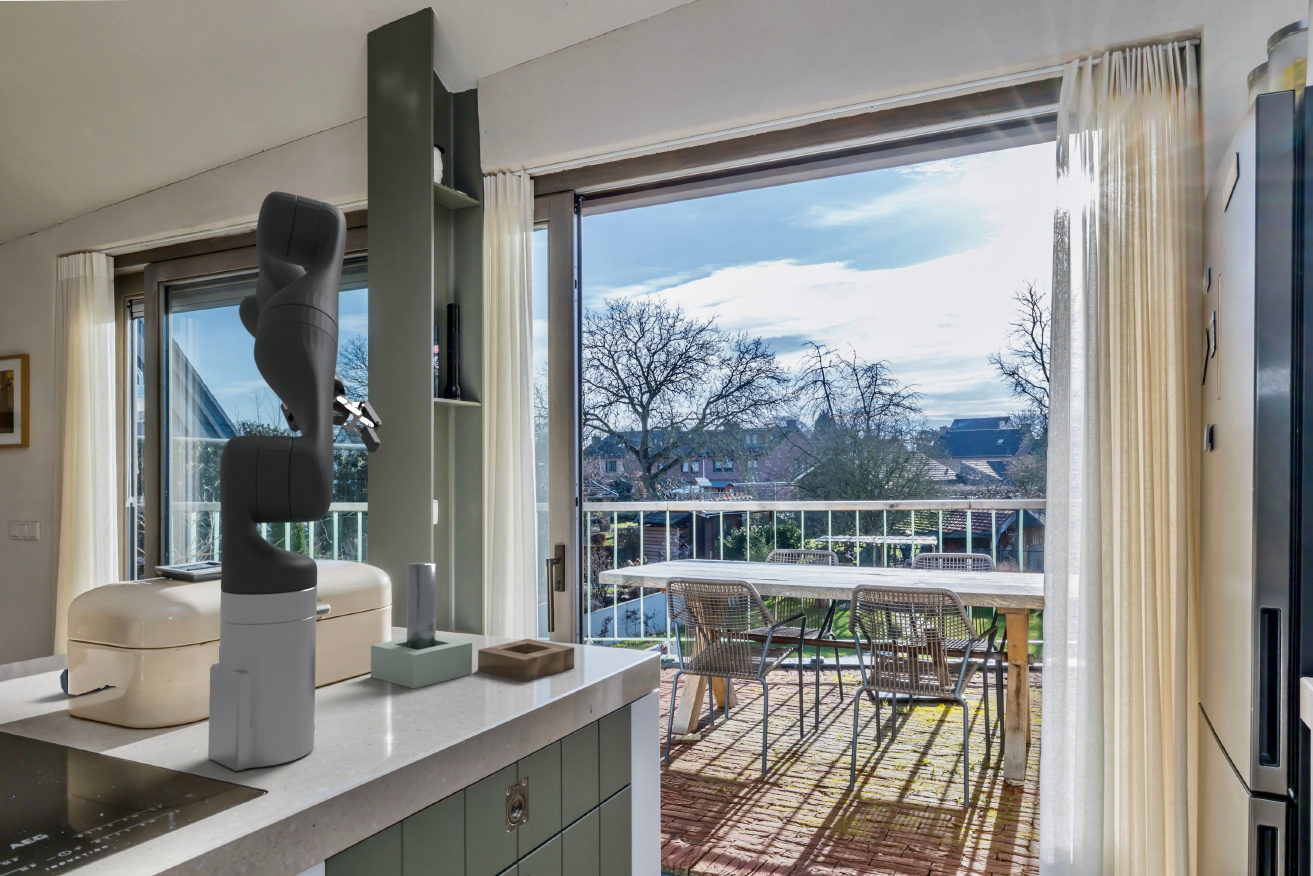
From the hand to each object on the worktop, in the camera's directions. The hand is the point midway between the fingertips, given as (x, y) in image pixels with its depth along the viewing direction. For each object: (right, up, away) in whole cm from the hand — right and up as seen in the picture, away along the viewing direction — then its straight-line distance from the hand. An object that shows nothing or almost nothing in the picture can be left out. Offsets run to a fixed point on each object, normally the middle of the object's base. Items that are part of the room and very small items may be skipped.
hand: (350, 448), depth 124 cm
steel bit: (+12, -33, -6) cm, 35 cm away
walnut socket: (+27, -33, -1) cm, 42 cm away
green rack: (+12, -33, -6) cm, 35 cm away
